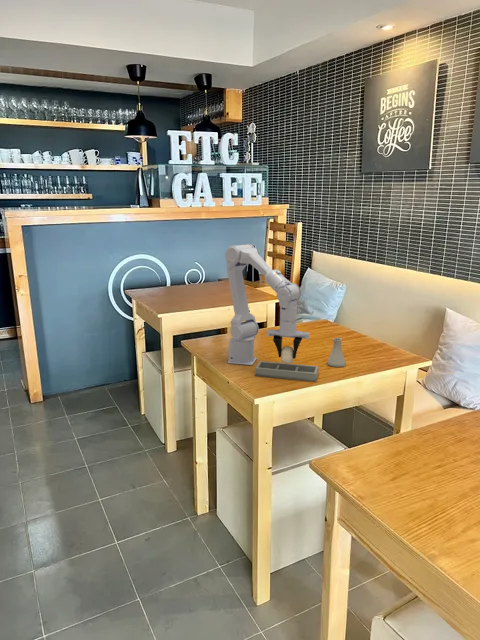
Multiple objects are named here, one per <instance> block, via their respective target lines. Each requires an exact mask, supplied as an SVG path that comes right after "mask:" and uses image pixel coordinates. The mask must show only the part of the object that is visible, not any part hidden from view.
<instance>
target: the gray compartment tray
mask: <svg viewBox="0 0 480 640" xmlns="http://www.w3.org/2000/svg"><path fill="white" fill-rule="evenodd" d="M254 376H255V377H260V378H271V379H280V380H290V381H291V380H292V381H301V382H311V383H312V382H313V383H316V382H317V379H318V376H319V366H318V365H311V364H310V365H307V364H300V363H299V364H298V363H283V362H274V361H263V360H259V362H258V364H257V365H256V366H255V368H254Z"/></svg>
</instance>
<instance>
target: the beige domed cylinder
mask: <svg viewBox="0 0 480 640" xmlns="http://www.w3.org/2000/svg"><path fill="white" fill-rule="evenodd" d="M293 351H294V347H292V346H289V345H285V346H282V350H281V357H280V363H287V364H293V363H294V360H295V359H293Z"/></svg>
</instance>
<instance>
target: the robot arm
mask: <svg viewBox="0 0 480 640" xmlns="http://www.w3.org/2000/svg"><path fill="white" fill-rule="evenodd" d="M224 255H225V261H226V273H227V277H228V284H229V289H230V295H231V300H232V306H233V311H234V316H233V317H232V319H231V320H230V335H231V338H230V339H229V341H228V346H227V347H228V349H227V351H228V361H227V364H233V365H244V366H245V365H246V366H253V365H254V364H255V362H256V360H257V359H258V358H257V357H255V339H256V335H258V333H259V330H260V329H259V328H260V327H259V325H258V323H257V321H256V318H255V317H256V316H255V315H254V314H252V313H251V312H250V309H249V304H248V302H249V301H248V299H247V298H248V297H247V292H246V286H245V282H244V281H245V279H244V274H243V271H244V269H245V268H246V266H248V265H251V266H252V267H253V268H254V269H256V270H257V271H258V272H259V273H260V274H261V275H262V276H263V277H264V278H265V279H264V280H265V283H266V284H267V285H268V286H269V287H270V289H272V290H273V291H274V292H275V293H276V298H277V300H278V303H279V307H280V308H279V329H267V330H266V337H273V338H272V340H273V342H274V345H275V347H276V350H277V354H278V358H281V350H282V348H283V344H282V343H283V338H290V339H291V338H292V339H293V343H292V344H293V350H294V351H293V359H294V360H295V359H296V357H297V353H298V352H297V351H298V349H299V346H300V344H301V342H302V340H303V339H305V340H309V339H310V332H307V331H301V330H297V325H298V324H297V323H298V321H297V320H298V317H297V316H298V300H299V299H300V298H301V296H302V290H301V287H299V285H298V283H295V282H294V283H293V282H291V281H290V280H289V279H287V278H286V277H285V276H284V275H283V274H282V272H281V270H278V269H273V268H271V267H270V266H269V265H268V264H267V262H266V261H265V260H264V259H263V258H262V256H261V255H260V254H259V252H258V249H257V248H256V247H255V246H254V245H253V244H251V243H246V244H240V245H239V244H238V245H230V246H229V247H228V248H227V249H226V251H225V253H224Z"/></svg>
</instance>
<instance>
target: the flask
mask: <svg viewBox="0 0 480 640" xmlns="http://www.w3.org/2000/svg"><path fill="white" fill-rule="evenodd" d="M332 340H333V345H332V349H331V352H330V354H329V357H328V359H327V362H326V364H327V366H329V367H334V368H343V367H345V366H346V365H347V362H346V359H345V357H344V353H343V350H342V344H341V343H342V341H343V339H342V338H341V337H333V338H332Z"/></svg>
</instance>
